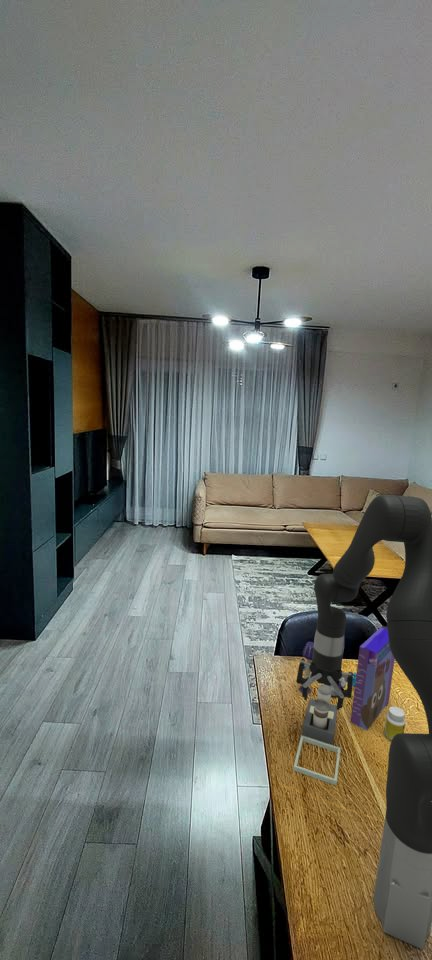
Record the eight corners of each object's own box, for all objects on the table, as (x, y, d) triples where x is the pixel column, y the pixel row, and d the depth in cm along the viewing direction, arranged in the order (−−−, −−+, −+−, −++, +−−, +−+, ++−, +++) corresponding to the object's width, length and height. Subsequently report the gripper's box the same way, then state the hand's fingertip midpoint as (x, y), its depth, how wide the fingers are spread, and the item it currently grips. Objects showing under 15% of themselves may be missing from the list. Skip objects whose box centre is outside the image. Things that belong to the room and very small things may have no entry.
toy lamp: (313, 690, 133) (319, 641, 131) (313, 699, 128) (318, 649, 126) (298, 687, 134) (303, 638, 132) (297, 696, 130) (302, 646, 127)
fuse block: (332, 748, 110) (336, 715, 108) (301, 738, 113) (305, 706, 111) (336, 718, 121) (340, 688, 119) (308, 710, 124) (311, 680, 122)
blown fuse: (324, 739, 111) (328, 709, 110) (310, 734, 113) (313, 705, 111) (326, 729, 115) (329, 701, 114) (312, 725, 116) (315, 697, 115)
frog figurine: (342, 705, 127) (345, 683, 126) (319, 696, 130) (321, 676, 129) (346, 693, 132) (348, 673, 131) (323, 686, 136) (326, 666, 135)
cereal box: (366, 734, 116) (377, 653, 112) (350, 725, 119) (359, 646, 115) (388, 704, 129) (398, 630, 125) (372, 696, 132) (382, 625, 128)
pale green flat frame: (335, 789, 97) (336, 781, 97) (292, 773, 101) (293, 766, 101) (339, 754, 108) (340, 747, 107) (300, 742, 111) (301, 735, 111)
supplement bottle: (404, 747, 112) (408, 719, 110) (385, 744, 112) (389, 715, 111) (400, 734, 116) (404, 707, 115) (382, 731, 117) (385, 703, 116)
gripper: (298, 647, 109) (292, 703, 112) (356, 662, 104) (348, 720, 107) (303, 634, 116) (297, 687, 119) (357, 647, 111) (350, 702, 114)
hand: (321, 703), depth 113 cm, fingers open, 8 cm apart
